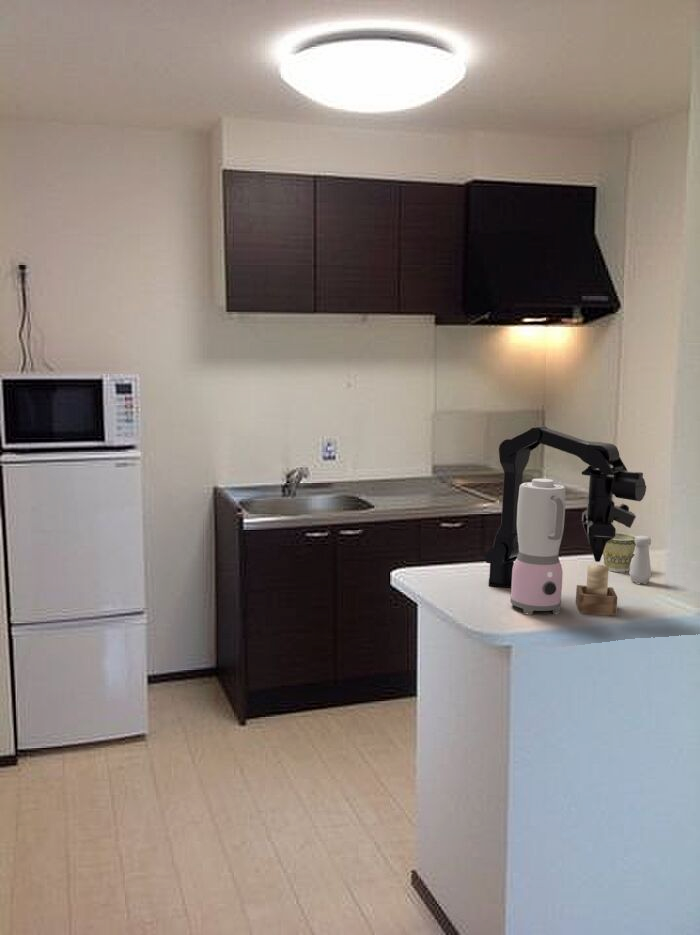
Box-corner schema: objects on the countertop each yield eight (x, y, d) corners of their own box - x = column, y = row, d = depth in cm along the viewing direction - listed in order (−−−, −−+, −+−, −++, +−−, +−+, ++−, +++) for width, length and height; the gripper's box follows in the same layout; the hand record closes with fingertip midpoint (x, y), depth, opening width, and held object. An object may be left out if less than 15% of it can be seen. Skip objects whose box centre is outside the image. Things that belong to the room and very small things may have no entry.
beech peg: (586, 608, 216) (588, 569, 215) (584, 603, 221) (586, 564, 220) (607, 610, 216) (609, 570, 214) (605, 604, 221) (607, 565, 219)
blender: (501, 602, 222) (508, 476, 218) (544, 599, 226) (552, 475, 221) (531, 621, 207) (539, 487, 203) (577, 618, 211) (586, 486, 206)
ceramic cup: (603, 573, 253) (606, 539, 252) (595, 564, 263) (597, 531, 262) (649, 575, 253) (652, 540, 251) (639, 566, 263) (641, 533, 261)
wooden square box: (578, 613, 215) (579, 594, 214) (575, 602, 224) (576, 585, 223) (616, 615, 214) (617, 597, 213) (611, 605, 222) (612, 587, 222)
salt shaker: (651, 585, 241) (655, 539, 239) (629, 584, 242) (633, 537, 240) (649, 580, 247) (652, 534, 245) (627, 578, 248) (631, 533, 246)
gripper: (640, 504, 206) (634, 569, 208) (629, 490, 224) (624, 550, 226) (591, 501, 208) (586, 565, 210) (584, 487, 226) (579, 547, 228)
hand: (595, 557), depth 219 cm, fingers open, 9 cm apart
